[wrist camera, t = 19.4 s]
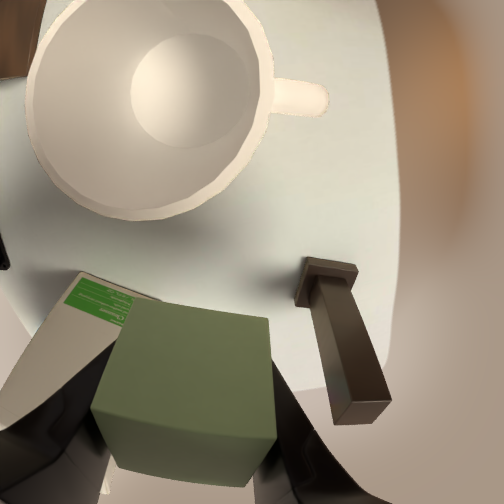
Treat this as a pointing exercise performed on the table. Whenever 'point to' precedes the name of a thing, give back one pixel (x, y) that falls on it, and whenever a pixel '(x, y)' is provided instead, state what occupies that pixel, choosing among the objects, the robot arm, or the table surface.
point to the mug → (154, 102)
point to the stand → (343, 342)
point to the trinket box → (19, 36)
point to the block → (188, 394)
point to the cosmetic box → (66, 347)
